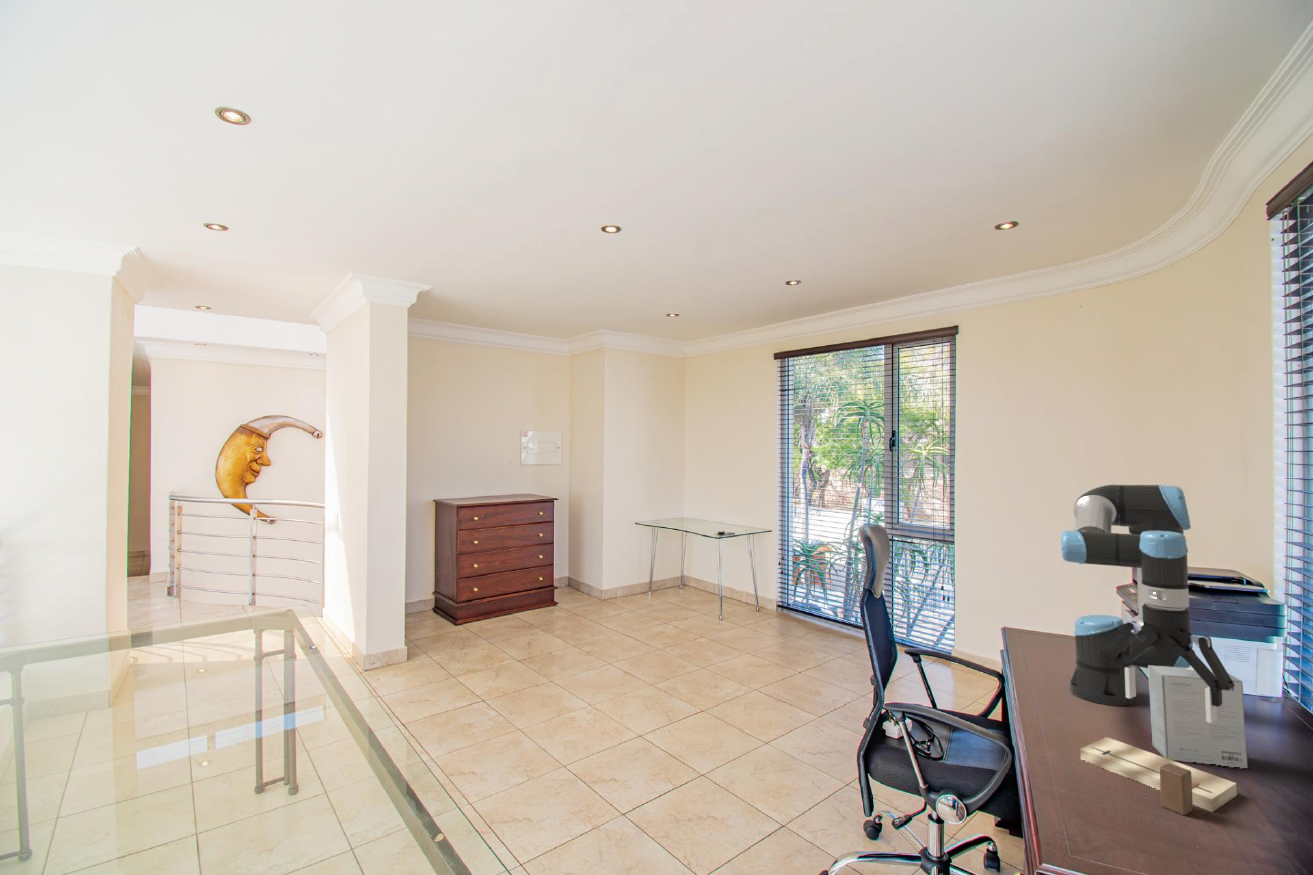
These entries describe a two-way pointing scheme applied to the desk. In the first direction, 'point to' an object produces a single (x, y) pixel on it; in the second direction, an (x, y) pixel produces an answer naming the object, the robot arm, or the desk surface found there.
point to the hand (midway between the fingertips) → (1169, 708)
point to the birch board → (1156, 771)
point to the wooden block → (1176, 788)
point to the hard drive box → (1195, 719)
